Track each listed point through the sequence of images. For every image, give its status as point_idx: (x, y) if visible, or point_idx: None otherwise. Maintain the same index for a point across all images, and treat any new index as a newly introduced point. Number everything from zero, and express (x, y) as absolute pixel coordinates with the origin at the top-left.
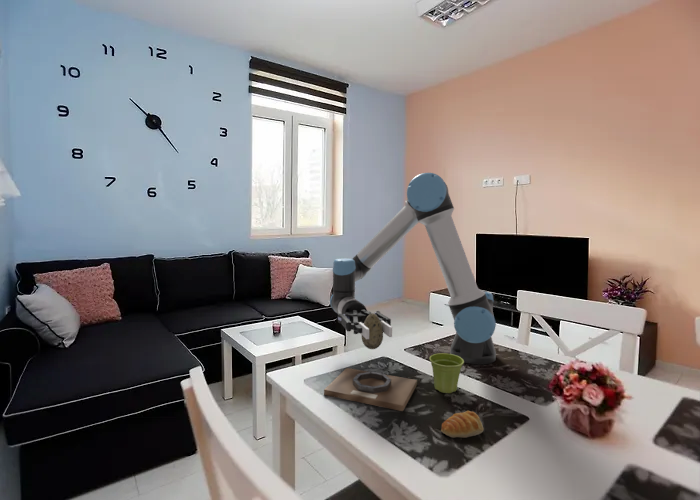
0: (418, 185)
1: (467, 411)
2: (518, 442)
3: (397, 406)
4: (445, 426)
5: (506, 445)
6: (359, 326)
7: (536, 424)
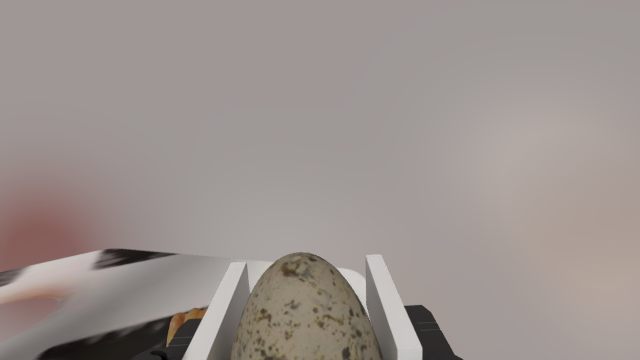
0: None
1: (175, 330)
2: (158, 306)
3: None
4: None
5: (183, 305)
6: (415, 330)
7: (67, 333)
